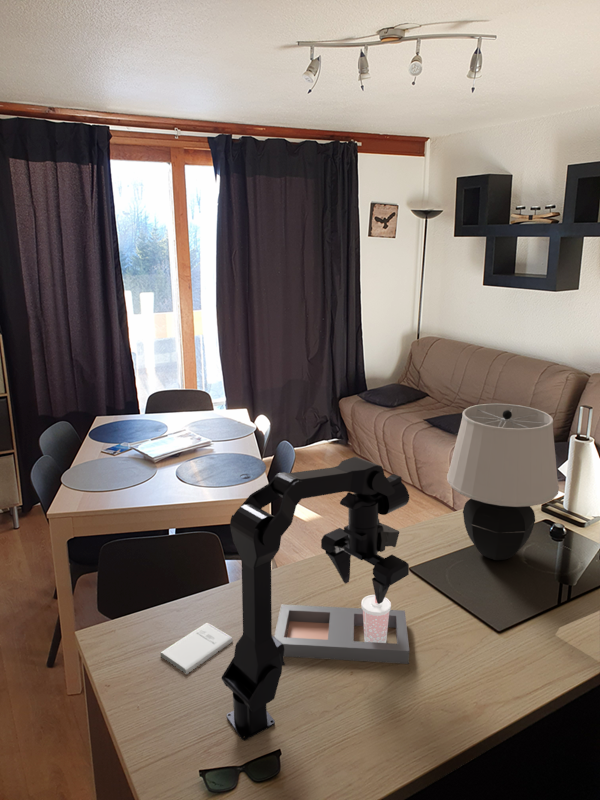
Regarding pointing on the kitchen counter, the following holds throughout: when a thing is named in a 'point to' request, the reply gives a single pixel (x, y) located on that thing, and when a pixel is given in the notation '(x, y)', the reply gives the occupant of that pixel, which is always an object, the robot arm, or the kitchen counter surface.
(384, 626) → the beverage cup
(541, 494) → the table lamp
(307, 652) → the cup caddy
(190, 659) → the external hard drive
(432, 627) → the kitchen counter surface
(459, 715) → the kitchen counter surface
